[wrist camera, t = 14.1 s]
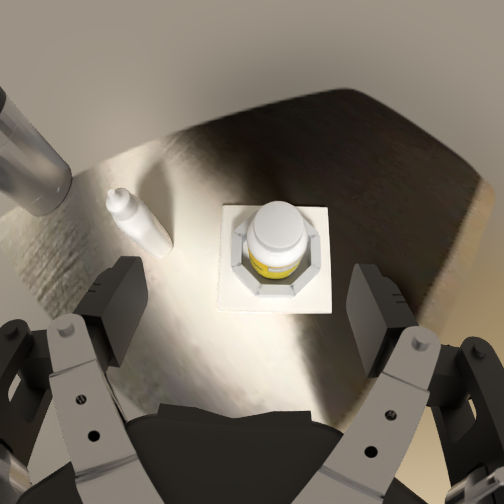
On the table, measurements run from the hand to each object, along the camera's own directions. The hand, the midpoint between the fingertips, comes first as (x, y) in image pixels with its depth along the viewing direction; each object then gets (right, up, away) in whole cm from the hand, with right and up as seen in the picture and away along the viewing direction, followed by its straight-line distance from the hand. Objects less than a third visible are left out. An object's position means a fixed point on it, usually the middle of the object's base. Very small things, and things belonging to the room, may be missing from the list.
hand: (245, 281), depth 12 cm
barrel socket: (+3, 0, +23) cm, 23 cm away
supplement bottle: (+3, 0, +22) cm, 23 cm away
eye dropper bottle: (-11, +2, +24) cm, 27 cm away
